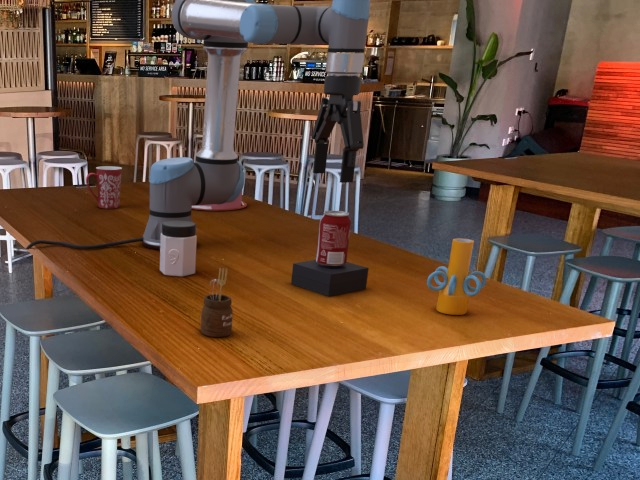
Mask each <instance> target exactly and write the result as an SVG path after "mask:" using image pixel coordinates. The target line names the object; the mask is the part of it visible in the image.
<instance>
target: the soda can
mask: <svg viewBox="0 0 640 480" xmlns="http://www.w3.org/2000/svg"><path fill="white" fill-rule="evenodd" d="M349 215H350V212H348V211H347V212H346V211H342V210H326V211H323V215H322V216H321V218H320V220H319V227H318V237H317V247H316V255H315V260H316V263H318V264H319V265H320V266H322V267H326V268H340V267H342V266H344V265H345V264H346V262H348V261H347V260H348V252H349V242H350V234H351V225H352V221H351V218H350V217H349Z"/></svg>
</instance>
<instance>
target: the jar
mask: <svg viewBox="0 0 640 480" xmlns="http://www.w3.org/2000/svg"><path fill="white" fill-rule="evenodd" d="M196 226H197V224H196V223H195V222H194V221H192V222H190V221H180V220H175V221H166V222H163V223H162V233H161V241H160V250H159V252H160V253H159V272H161V273H162V274H163V275H164V276H167V277H168V276H169V277H180V278H181V277H187V276H191V275H195V274H196V268H197V267H196V265H197V264H196V263H197V246H196V243H197V244H198V236H197V233H196V232H197V231H196ZM195 234H196V235H195Z"/></svg>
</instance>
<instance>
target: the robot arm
mask: <svg viewBox="0 0 640 480" xmlns="http://www.w3.org/2000/svg"><path fill="white" fill-rule="evenodd" d="M370 7H371V0H332V3H331V5H328V6H327V5H326V6H325V5H323V6H316V5H287V4H286V5H284V4H269V3H257V2H256V1H255V0H175V2H174V3H173V6H172V10H171V22H172V26H173V27H174V29H175V30H176V32H177V33H178V34H179V35H180V36H182V37H184V38H187V39H188V40H189V39H190V40H194V41H195V40H196V41H203V43H202V48H203V49H204V50H205V52H206V53H207V68H206V81H205V82H206V83H205V95H204V96H205V97H204V112H203V125H202V137H201V138H202V140H201V148H200V149H199V150H198V151H197V152H195V160H194V159H193V158H191V157H187V156H186V157H185V156H180V157H169V158H164V159H159V160H157V161H155V162H154V163H153V164H152V165H151V167H150V172H149V179H148V181H149V213H148V214H149V217H148V220H147V223H146V226H145V229H144V232H143V235H142V237H137V238H130V239H124V240H119V241H118V240H117V241H112V242H106V243H101V244H95V245H94V244H92V245H91V244H90V245H89V244H88V245H86V244H85V245H84V244H83V245H81V244H75V243H71V242H66V241H55V240H54V241H53V240H44V239H38V240H34V241H33V242H31V243H29V244H28V245H27V246H26V247H25V250H30V249H32V248H33V247H34V246H36V245H50V246H65V247H69V248H74V249H78V250H79V249H80V250H93V249H95V250H96V249H101V248H102V249H103V248H107V247H115V246H119V245H120V246H121V245H125V244H131V243H133V244H134V243H138V242H142V243H141V244H142V246H143V247H145V248H148V249H150V250H151V249H152V250H156V251H158V250H159V251H160V241H161V233H162V223H163V222H166V221H175V220H180V221H190V222H193V220H192V210H193V209H192V206H197V205H211V204H217V205H220V204H224V203H230V202H233V201H234V200H236V198H237V197H239V195H240V194H241V192H242V193H243V189H244V185H245V181H246V174H245V173H246V172H245V171H244V170H245V169H244V165H243V164H242V162H240V161H239V156H238V154H237V153H236V152H235V150H234V143H235V132H236V131H235V130H236V119H237V107H238V97H239V85H240V73H241V61H242V55H243V54H244V53H245V52H246V51H247V50H248V47H249V44H255V45H264V44H265V45H266V44H267V45H273V44H274V45H275V44H277V45H282V44H283V45H284V44H285V45H305V46H316V45H328V47H327V53H326V60H325V61H326V62H325V73H326V74H327V75H326V76H325V77H324V85H323V94H324V95H327V96H328V97H321V102H320V106H319V107H320V108H319V110H318V114H317V116H316V120H315V122H314V127H313V130H312V133H311V137H310V138H311V140H314V143H315V148H314V157H313V158H314V159H313V167H312V168H313V169H312V174H314V175H315V174H326V170H327V169H326V168H327V160H328V150H329V143H330V140H329V137H330V136H331V135H332V134H331V133H332V132H333V130H334V128H335V126H336V124H338V125H339V126H340V131H341V135H342V140H343V143H344V144H343V145H344V147H343V148H342V157H341V167H340V175H339V183H340V184H341V183H342V184H345V183H347V184H348V183H349V184H350V183H354V177H355V169H356V160H357V152H359V151H360V150H362V149H364V147H365V146H364V145H365V143H364V135H363V134H364V133H363V126H362V115H361V111H362V110H361V109H362V102H361V100H354V96H359V95H360V93H361V86H362V77H361V76H359V75H360V74H362V73H363V66H364V63H365V58H364V57H365V51H366V42H367V37H368V36H367V35H368V29H369V28H368V27H369V19H370ZM197 230H198V226H197V225H196V232H197ZM195 235H196V236H197V233H195ZM197 244H198V242H197V243H196V247H197V246H198V245H197Z"/></svg>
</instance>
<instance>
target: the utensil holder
mask: <svg viewBox="0 0 640 480" xmlns="http://www.w3.org/2000/svg"><path fill="white" fill-rule="evenodd" d="M217 277H218V279H217V278H214V279H211V280H210V281H209V283H208V285H211V284H213V283H215V282H216V285H218V286H220V288H219V293H218V291H216V293H215V294H214V291H215V290H214V288H215V285H212V291H208V293H209V294H208V295H205V296H204V298H203V304H204V305H202V307H201V314H200V332H201V334H202V335H204V336H206V337H210V338H224V337H228V336H230V335H231V333H232V330H233V315H234V313H233V311H234V310H233V308H232V306H231V305H232V298H231V296H229V295H227V294H222V293H223V287H224V286H225V285H227V278H228V268H224V267H219V270H218V276H217ZM211 292H212V293H211Z"/></svg>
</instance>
